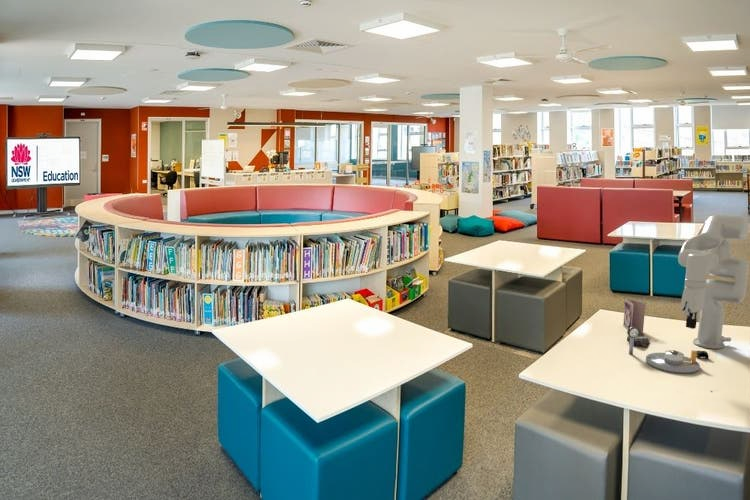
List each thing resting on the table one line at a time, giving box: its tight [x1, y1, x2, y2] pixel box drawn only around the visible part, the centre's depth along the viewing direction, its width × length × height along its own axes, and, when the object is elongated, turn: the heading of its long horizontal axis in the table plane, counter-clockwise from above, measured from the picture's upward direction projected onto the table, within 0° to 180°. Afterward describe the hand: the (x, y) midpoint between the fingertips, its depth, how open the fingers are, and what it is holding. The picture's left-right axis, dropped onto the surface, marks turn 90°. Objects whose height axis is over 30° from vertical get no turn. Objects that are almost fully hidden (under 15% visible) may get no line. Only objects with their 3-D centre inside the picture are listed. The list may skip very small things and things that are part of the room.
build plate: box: [695, 350, 710, 360], centre depth 238 cm, size 12×7×5 cm, turn 79°
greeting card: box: [622, 297, 646, 333], centre depth 279 cm, size 11×7×15 cm, turn 174°
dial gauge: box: [626, 327, 647, 355], centre depth 242 cm, size 9×6×14 cm, turn 93°
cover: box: [664, 349, 685, 366], centre depth 229 cm, size 7×7×5 cm
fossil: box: [626, 328, 651, 348], centre depth 256 cm, size 11×9×10 cm
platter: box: [645, 350, 701, 375], centre depth 230 cm, size 20×20×6 cm
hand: (690, 327), depth 223 cm, fingers closed
